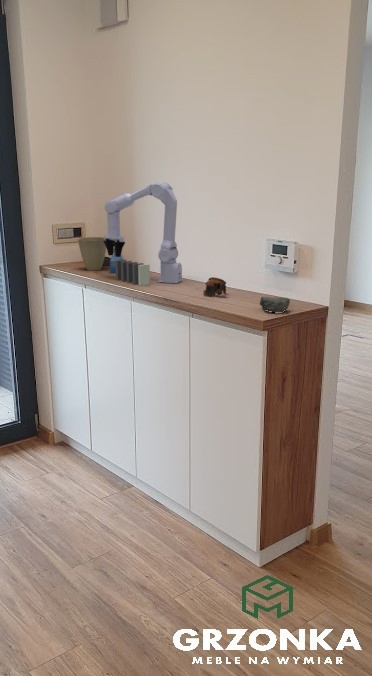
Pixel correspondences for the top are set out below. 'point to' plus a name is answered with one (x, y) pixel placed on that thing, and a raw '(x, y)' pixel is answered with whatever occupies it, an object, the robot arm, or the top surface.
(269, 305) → the rock
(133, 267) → the domino
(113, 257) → the perfume bottle
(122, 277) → the domino
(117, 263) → the domino
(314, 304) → the top surface
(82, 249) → the plant pot
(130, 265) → the domino
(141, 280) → the domino
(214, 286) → the brown irregular lump
